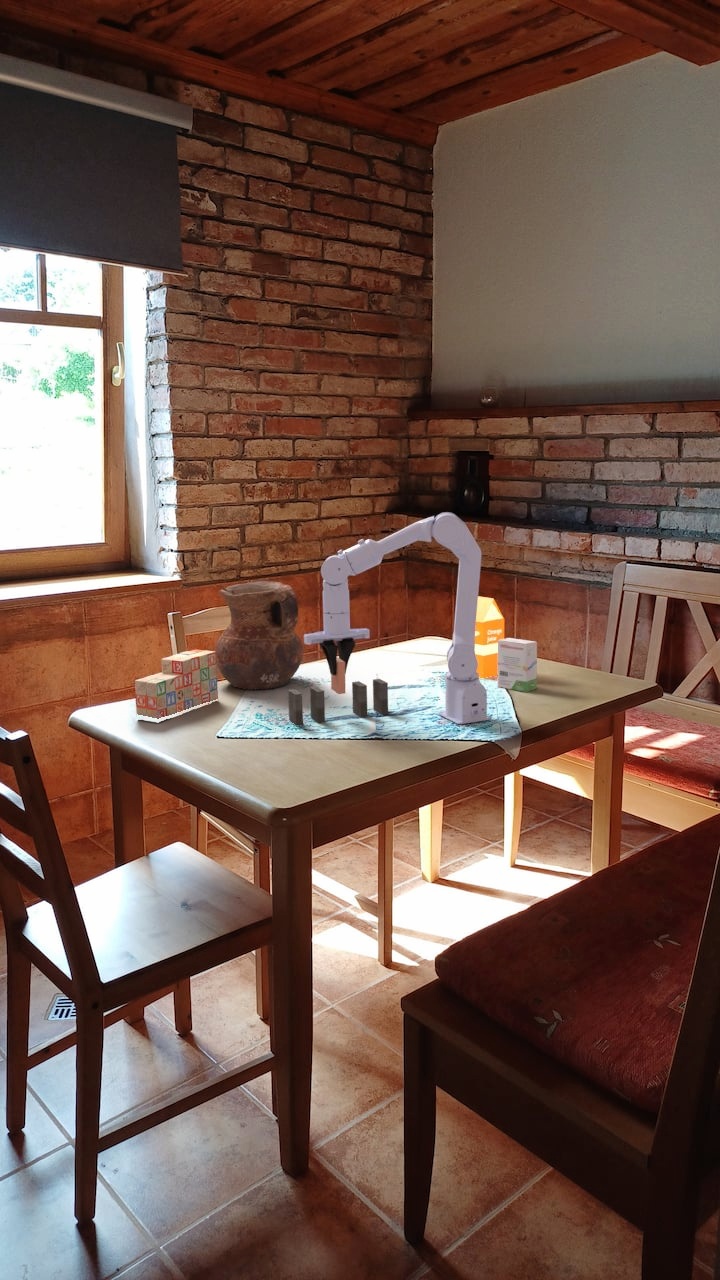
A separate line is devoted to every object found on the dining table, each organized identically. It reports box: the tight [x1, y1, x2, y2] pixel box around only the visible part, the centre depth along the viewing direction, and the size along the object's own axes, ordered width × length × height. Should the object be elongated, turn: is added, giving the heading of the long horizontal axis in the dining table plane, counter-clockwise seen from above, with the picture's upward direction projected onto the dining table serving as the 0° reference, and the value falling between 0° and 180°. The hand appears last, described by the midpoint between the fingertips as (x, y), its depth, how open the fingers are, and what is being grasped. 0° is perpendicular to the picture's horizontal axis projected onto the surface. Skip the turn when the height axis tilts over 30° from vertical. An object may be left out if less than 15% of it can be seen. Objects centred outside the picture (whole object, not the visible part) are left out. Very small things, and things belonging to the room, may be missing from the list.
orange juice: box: [475, 595, 505, 679], centre depth 250 cm, size 8×9×20 cm
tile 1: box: [372, 678, 389, 715], centre depth 217 cm, size 4×2×7 cm, turn 23°
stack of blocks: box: [134, 649, 219, 719], centre depth 221 cm, size 21×6×12 cm, turn 151°
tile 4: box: [287, 688, 304, 726], centre depth 210 cm, size 4×2×7 cm, turn 23°
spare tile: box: [330, 656, 346, 695], centre depth 212 cm, size 4×2×7 cm, turn 22°
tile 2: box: [351, 681, 368, 718], centre depth 215 cm, size 4×2×7 cm, turn 23°
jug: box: [214, 580, 304, 690], centre depth 244 cm, size 22×21×25 cm
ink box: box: [497, 637, 538, 693], centre depth 235 cm, size 8×5×12 cm, turn 47°
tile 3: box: [309, 686, 326, 724], centre depth 212 cm, size 4×2×7 cm, turn 23°
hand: (338, 673), depth 212 cm, fingers closed on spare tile, 1 cm apart
